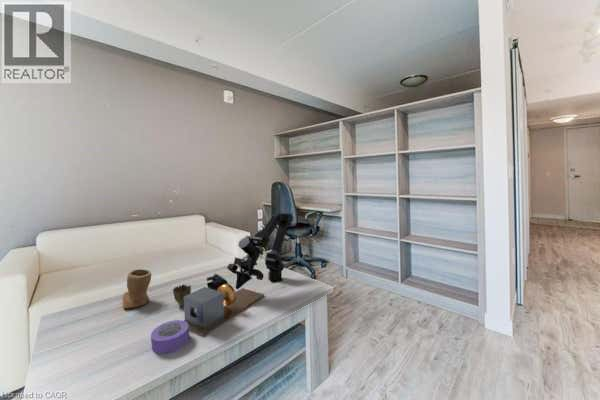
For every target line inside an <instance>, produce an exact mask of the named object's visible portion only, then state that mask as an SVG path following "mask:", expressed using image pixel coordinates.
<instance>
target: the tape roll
mask: <svg viewBox="0 0 600 400" xmlns="http://www.w3.org/2000/svg"><path fill="white" fill-rule="evenodd" d="M189 340H190V331H189V327H188V323H187V322H185V321H184V320H181V319H177V320H176V319H174V320H169V321H166V322H164V323H161V324H160V325H158V326H156V327H155V328H154V329H153V330H152V331H151V334H150V342H151V350H152V352H153V353H154V354H158V355H165V354H171V353H173V352H174V353H175V352H177V351H179V350H181V349H182V348H183V347H185V346H186V345H187V344H188V342H189Z"/></svg>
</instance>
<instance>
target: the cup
mask: <svg viewBox="0 0 600 400" xmlns="http://www.w3.org/2000/svg"><path fill="white" fill-rule="evenodd" d="M191 290H192V285H190V284H188V286H187V284H182V285H179V286H175V287H174V288H173V289H172V292H173V296H174V300H175V301H176V303H177V304H178V306H180V307H184V296H186V295H188V294H191V293H192V292H191Z"/></svg>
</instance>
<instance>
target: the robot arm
mask: <svg viewBox="0 0 600 400" xmlns="http://www.w3.org/2000/svg"><path fill="white" fill-rule="evenodd" d="M293 220H294V217H293V215H292V213H289V212H288V213H287V212H280V213H273V214H272V215H271V217H270V219H269V220H268V222H267V223H266V225H265V226H264V227H263V229H262V230H260V231H258V232H256V233H255V234H254V236H253V237H252V238H251V236H250V235H245V237H244V238H242V239H240V240H239V241H238V248H240V250H242V251H243V252H244V253H245V254H246V256H243V257H242V258H241V257H240V258H239V257H234V261H233V263H229V264H228V265H227V267H226V269H227V270H228V271H230V272H231V273H233V274H236V281H235V282H236V283H235V289H236V290H240V289H241V287H242V286H244V284H246V283H247V282H249V281H250V280H253V276H254V277H256V280H259V281H263V279H264V273H263V272H262V271H261V270H260V269H258V268H257V269H256V268H255V266H258V263H257V262H258V259H259V257H260V256H261V255H264V251H263V248H266V247H267V246H268V244H269V242H270V237H271V234H272V233H273V232H274V231H275V229H276V228H277V225H278V228H277V231H276V235H275V238H274V242H273V244H272V248H271V251H270V252H267V253H266V257H265V259H264V264H265V267H266V269H267V270H268V277H267V279H268V280H269V281H270V282H271V283H276V282H281V281H283V280H284V279H283V277H282V273H283V272H282V271H283V270H284V269H285V264H284V263H283V262H282V259H283V257H282V255H281V252H282V250H283V249H282V247H283V244H284V241H285V238H286V233H287V229H289V227H290V226H291V225H292V223H293Z"/></svg>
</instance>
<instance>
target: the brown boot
mask: <svg viewBox="0 0 600 400" xmlns="http://www.w3.org/2000/svg"><path fill="white" fill-rule="evenodd" d="M151 279H152V272H151V271H150V270H149V269H143V268H138V269H137V268H136V269H133V270H131V271H129V273H128V274H127V279H126V287H127V291H126V292H124V293H123V295H122V302H121V303H122V307H123V308H125V309H131V308H133V309H134V308H136V307H140V306H144V305H145V304H147V302H148V299H149V298H148V297H149V296H148V294H147V293H148V292H147V291H148V288H149V285H150V283H151Z"/></svg>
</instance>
